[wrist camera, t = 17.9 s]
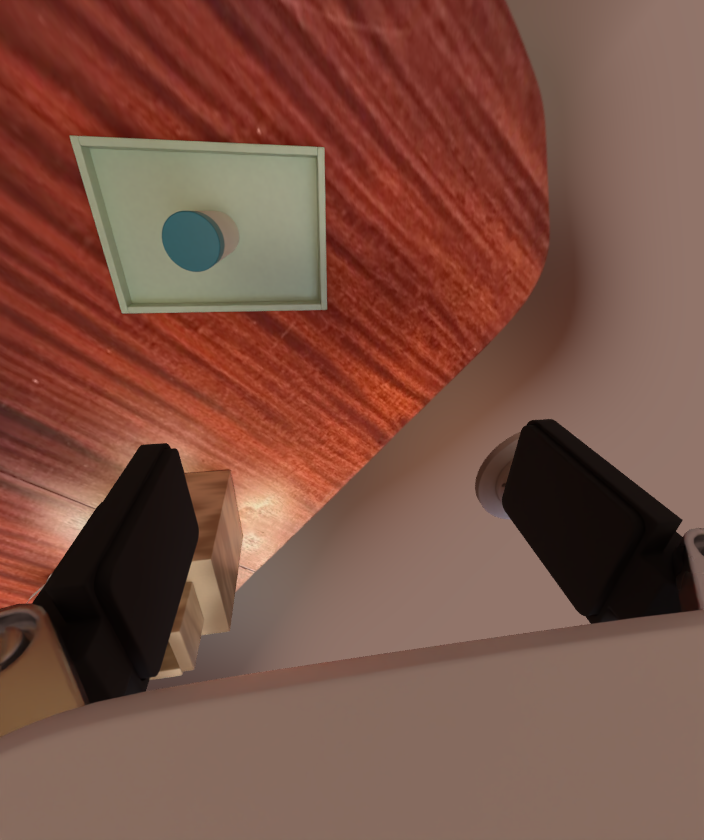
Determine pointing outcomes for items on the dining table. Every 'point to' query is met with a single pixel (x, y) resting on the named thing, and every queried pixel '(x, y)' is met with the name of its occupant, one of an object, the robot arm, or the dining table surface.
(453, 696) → the robot arm
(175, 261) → the pen
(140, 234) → the tray
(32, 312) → the dining table surface
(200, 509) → the pen stand
